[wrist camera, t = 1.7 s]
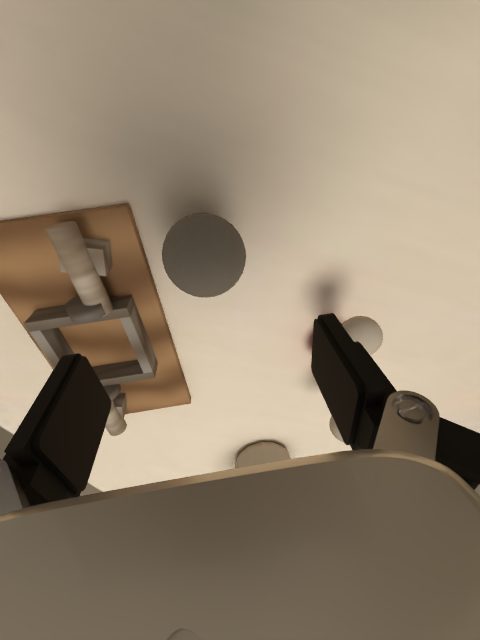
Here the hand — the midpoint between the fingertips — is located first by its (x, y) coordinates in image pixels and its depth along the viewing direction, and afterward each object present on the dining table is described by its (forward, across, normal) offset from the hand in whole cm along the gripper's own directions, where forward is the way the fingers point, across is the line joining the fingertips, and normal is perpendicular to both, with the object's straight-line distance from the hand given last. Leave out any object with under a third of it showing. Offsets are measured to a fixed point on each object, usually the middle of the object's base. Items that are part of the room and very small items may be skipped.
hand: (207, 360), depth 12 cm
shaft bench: (+18, +13, +10) cm, 24 cm away
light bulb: (+18, 0, 0) cm, 18 cm away
